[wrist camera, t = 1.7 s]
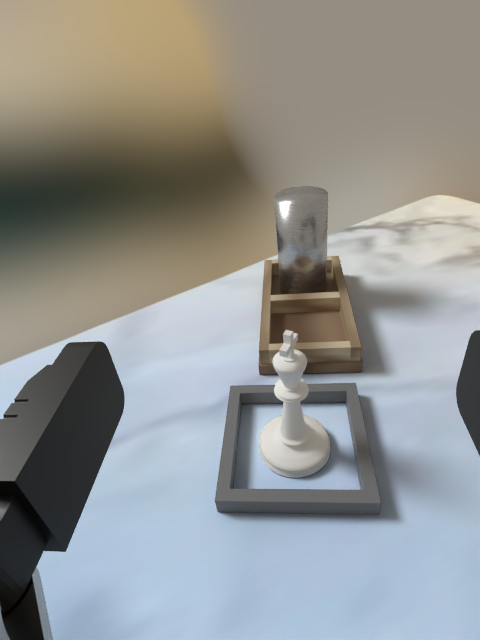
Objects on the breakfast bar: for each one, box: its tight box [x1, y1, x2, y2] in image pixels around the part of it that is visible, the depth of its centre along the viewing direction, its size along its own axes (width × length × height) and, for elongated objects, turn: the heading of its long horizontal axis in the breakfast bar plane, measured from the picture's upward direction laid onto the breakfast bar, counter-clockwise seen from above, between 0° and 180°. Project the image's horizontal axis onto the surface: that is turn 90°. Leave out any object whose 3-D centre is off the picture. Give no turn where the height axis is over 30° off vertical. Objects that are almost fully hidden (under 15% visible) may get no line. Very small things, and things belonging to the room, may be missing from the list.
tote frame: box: [215, 383, 381, 514], centre depth 28 cm, size 10×10×1 cm
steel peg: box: [275, 186, 328, 295], centre depth 40 cm, size 5×5×10 cm
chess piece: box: [259, 330, 331, 478], centre depth 26 cm, size 5×5×10 cm
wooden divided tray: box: [259, 256, 362, 375], centre depth 40 cm, size 8×16×2 cm, turn 175°
